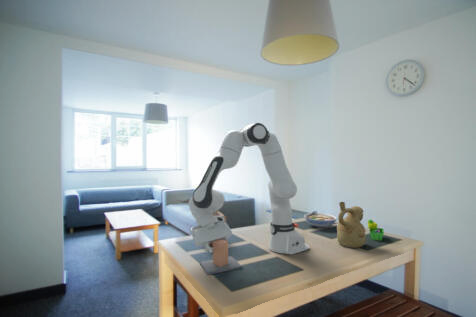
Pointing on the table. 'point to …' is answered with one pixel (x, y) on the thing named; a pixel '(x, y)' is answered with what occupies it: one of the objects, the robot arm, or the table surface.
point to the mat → (213, 268)
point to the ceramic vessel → (350, 227)
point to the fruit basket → (375, 230)
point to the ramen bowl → (320, 219)
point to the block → (220, 252)
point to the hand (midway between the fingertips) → (220, 249)
